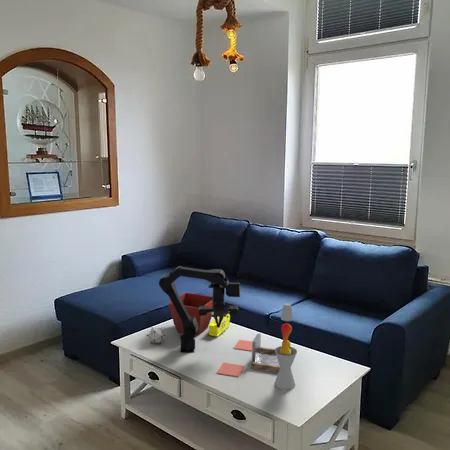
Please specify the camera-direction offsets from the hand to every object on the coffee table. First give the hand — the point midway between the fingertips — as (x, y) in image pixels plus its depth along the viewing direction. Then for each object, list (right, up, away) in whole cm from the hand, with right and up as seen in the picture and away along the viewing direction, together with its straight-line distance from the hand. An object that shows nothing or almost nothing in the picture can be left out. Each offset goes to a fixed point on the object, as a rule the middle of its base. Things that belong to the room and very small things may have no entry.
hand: (218, 327), depth 222 cm
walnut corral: (+24, -14, -9) cm, 29 cm away
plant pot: (-14, -7, +27) cm, 32 cm away
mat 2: (+14, -11, +8) cm, 19 cm away
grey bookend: (+23, -14, -8) cm, 28 cm away
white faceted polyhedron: (-31, -10, +11) cm, 35 cm away
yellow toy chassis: (0, -8, +25) cm, 27 cm away
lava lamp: (+28, -18, -28) cm, 44 cm away
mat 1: (+6, -15, -16) cm, 23 cm away
